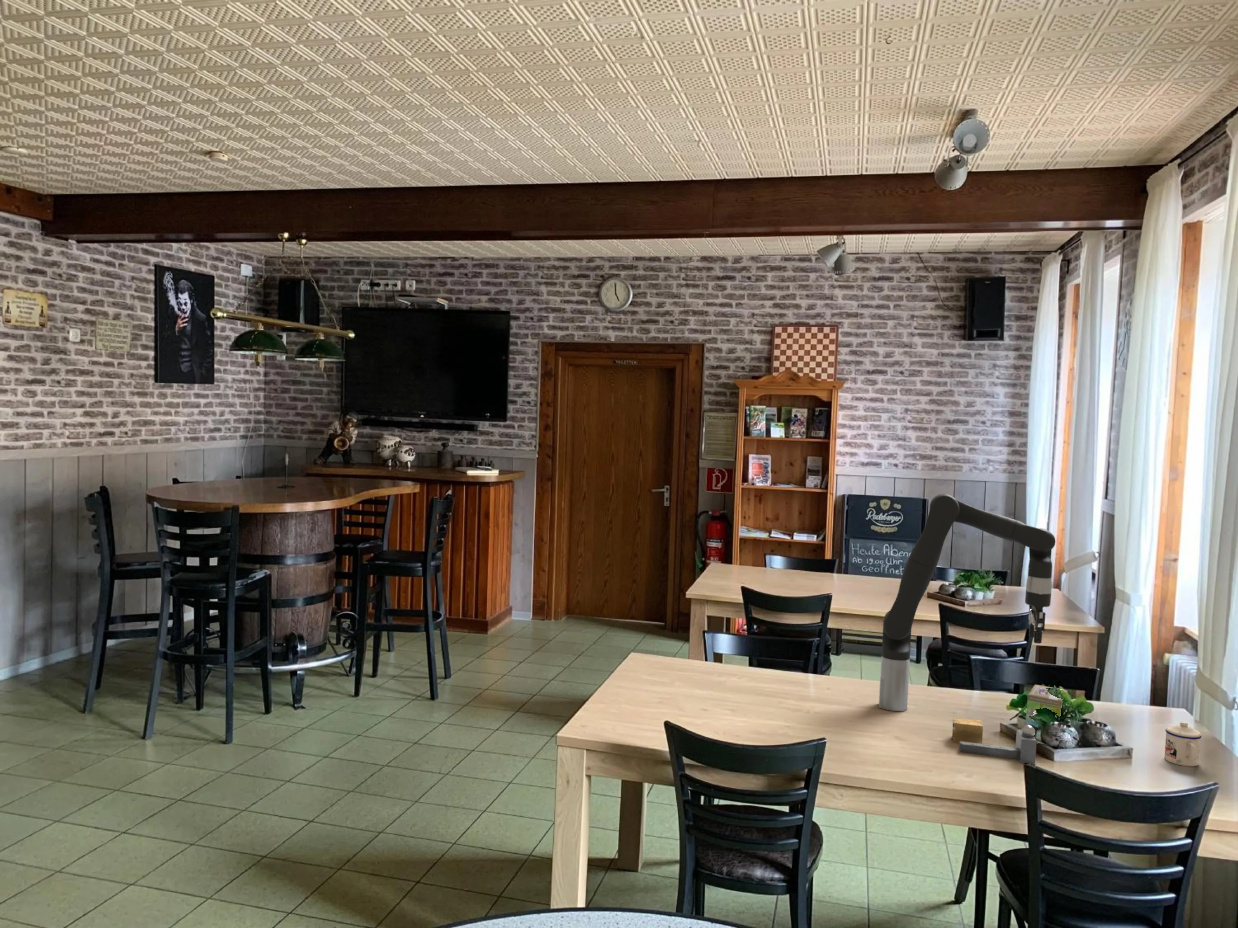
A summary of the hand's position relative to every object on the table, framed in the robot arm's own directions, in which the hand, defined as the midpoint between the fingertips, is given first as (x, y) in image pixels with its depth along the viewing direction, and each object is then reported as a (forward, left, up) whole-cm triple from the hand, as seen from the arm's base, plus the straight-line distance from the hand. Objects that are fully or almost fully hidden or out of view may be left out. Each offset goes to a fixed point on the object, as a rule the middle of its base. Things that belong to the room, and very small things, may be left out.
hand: (1034, 639), depth 303 cm
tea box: (+2, -13, -28) cm, 31 cm away
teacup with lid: (+38, -22, -28) cm, 52 cm away
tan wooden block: (-22, -25, -28) cm, 43 cm away
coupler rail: (-15, -35, -28) cm, 47 cm away
